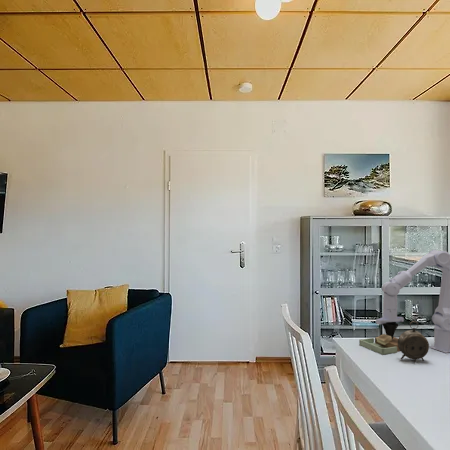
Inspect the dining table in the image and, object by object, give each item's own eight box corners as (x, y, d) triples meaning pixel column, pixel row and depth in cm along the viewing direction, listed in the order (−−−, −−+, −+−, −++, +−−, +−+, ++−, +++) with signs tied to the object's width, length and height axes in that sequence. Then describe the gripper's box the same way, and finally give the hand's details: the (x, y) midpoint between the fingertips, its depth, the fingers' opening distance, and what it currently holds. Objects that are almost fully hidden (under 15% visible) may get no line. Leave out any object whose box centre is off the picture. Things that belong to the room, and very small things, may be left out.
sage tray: (372, 343, 175) (372, 337, 175) (397, 352, 162) (397, 346, 162) (359, 345, 172) (359, 339, 172) (382, 355, 159) (382, 349, 159)
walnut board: (389, 341, 177) (389, 335, 177) (410, 349, 166) (410, 342, 166) (374, 343, 174) (374, 337, 174) (395, 352, 163) (395, 345, 163)
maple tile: (384, 337, 171) (383, 333, 171) (392, 340, 167) (391, 336, 167) (377, 341, 169) (376, 337, 169) (385, 344, 165) (383, 340, 165)
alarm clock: (424, 359, 154) (425, 319, 154) (430, 364, 148) (431, 323, 148) (397, 358, 155) (397, 318, 155) (401, 362, 149) (402, 322, 150)
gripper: (395, 305, 176) (394, 334, 176) (371, 307, 170) (370, 337, 170) (407, 308, 169) (407, 339, 169) (382, 311, 164) (382, 342, 164)
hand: (389, 338), depth 169 cm, fingers closed
